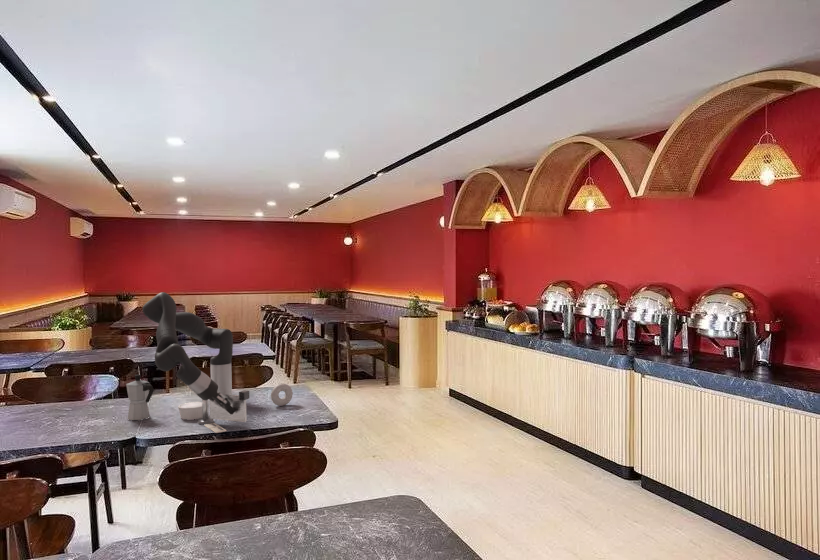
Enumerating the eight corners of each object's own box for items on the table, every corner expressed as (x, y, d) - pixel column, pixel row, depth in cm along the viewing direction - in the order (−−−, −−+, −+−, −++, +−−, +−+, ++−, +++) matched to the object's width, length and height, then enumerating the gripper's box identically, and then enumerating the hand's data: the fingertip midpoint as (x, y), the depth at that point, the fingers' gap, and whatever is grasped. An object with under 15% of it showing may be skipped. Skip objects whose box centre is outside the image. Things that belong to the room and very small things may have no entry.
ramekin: (173, 417, 241) (173, 405, 241) (199, 412, 250) (199, 400, 249) (186, 422, 234) (186, 409, 234) (212, 416, 242) (212, 404, 242)
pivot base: (194, 422, 233) (194, 420, 233) (208, 419, 237) (208, 417, 237) (202, 425, 229) (202, 423, 229) (216, 422, 233) (216, 419, 233)
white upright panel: (200, 419, 232) (199, 387, 231) (205, 417, 235) (205, 385, 234) (244, 424, 225) (244, 390, 224) (249, 422, 228) (249, 389, 227)
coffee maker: (118, 419, 240) (117, 375, 239) (136, 413, 248) (135, 371, 247) (144, 423, 233) (143, 378, 233) (162, 417, 241) (161, 374, 241)
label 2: (210, 429, 223) (210, 428, 223) (220, 427, 226) (220, 426, 226) (216, 433, 218) (216, 431, 218) (226, 431, 221) (226, 429, 221)
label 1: (204, 425, 229) (204, 424, 229) (214, 423, 231) (214, 422, 231) (209, 428, 224) (209, 427, 224) (219, 427, 226) (219, 425, 226)
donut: (291, 403, 263) (290, 381, 263) (294, 404, 261) (293, 382, 260) (269, 406, 258) (269, 384, 257) (272, 408, 255) (272, 385, 255)
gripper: (188, 390, 221) (219, 417, 230) (202, 396, 211) (234, 423, 220) (201, 374, 224) (231, 401, 233) (216, 379, 215) (247, 407, 223)
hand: (233, 412), depth 226 cm, fingers closed
